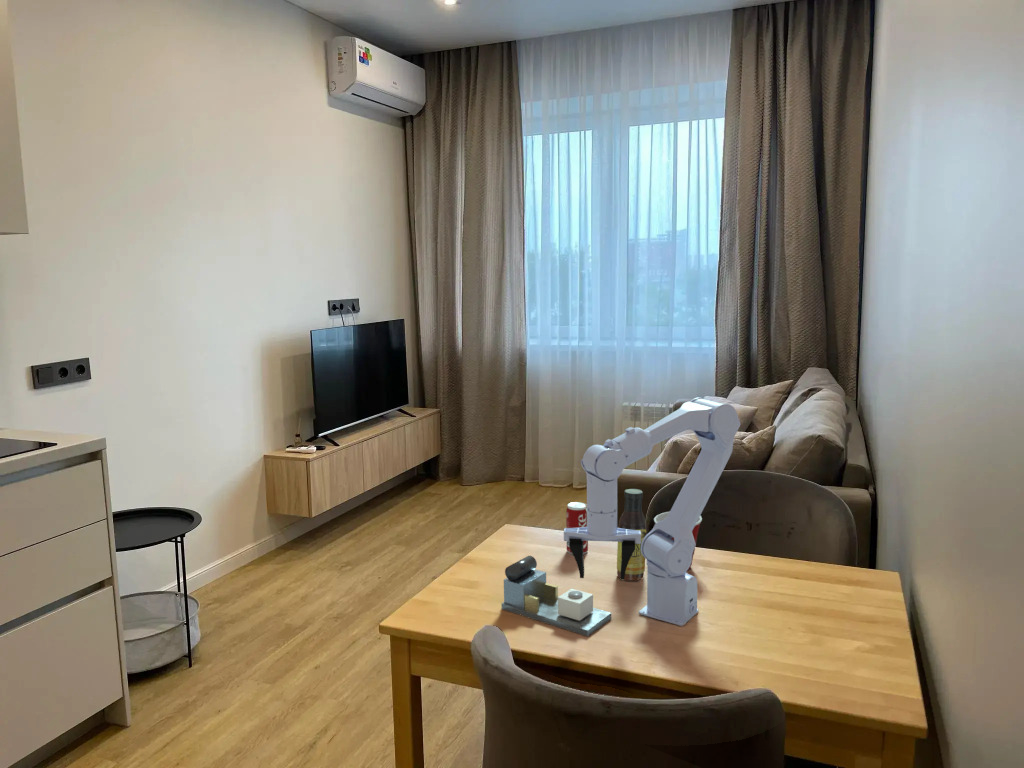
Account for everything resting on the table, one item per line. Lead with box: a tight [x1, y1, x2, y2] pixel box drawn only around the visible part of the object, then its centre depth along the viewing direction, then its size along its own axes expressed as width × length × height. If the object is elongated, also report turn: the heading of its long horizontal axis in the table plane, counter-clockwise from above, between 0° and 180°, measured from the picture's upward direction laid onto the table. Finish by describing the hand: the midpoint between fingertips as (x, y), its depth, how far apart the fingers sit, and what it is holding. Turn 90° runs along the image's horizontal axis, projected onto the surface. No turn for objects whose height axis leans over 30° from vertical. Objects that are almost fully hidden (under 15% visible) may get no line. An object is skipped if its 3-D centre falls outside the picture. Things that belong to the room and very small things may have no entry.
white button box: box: [558, 588, 594, 621], centre depth 148 cm, size 5×5×4 cm
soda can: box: [565, 501, 589, 556], centre depth 183 cm, size 5×5×12 cm
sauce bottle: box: [616, 488, 647, 582], centre depth 167 cm, size 6×6×20 cm
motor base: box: [501, 555, 612, 637], centre depth 150 cm, size 20×9×9 cm, turn 53°
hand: (602, 577), depth 144 cm, fingers open, 7 cm apart
